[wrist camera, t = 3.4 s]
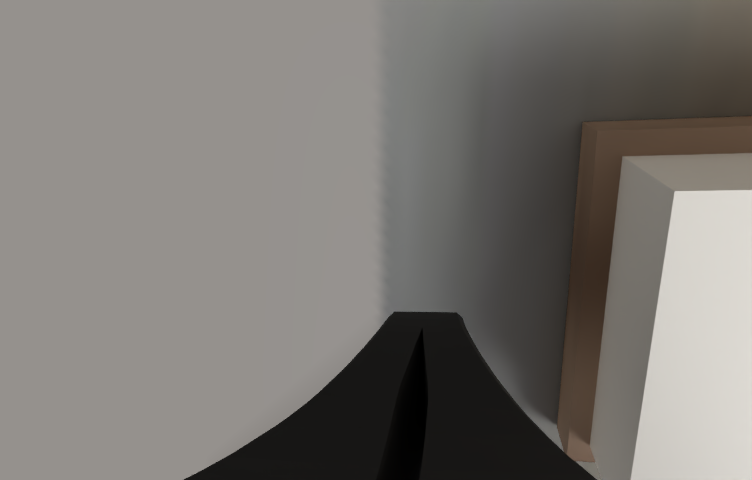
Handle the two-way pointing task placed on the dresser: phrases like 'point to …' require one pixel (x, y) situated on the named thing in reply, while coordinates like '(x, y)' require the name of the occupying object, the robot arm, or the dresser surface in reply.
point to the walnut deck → (595, 241)
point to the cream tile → (678, 323)
